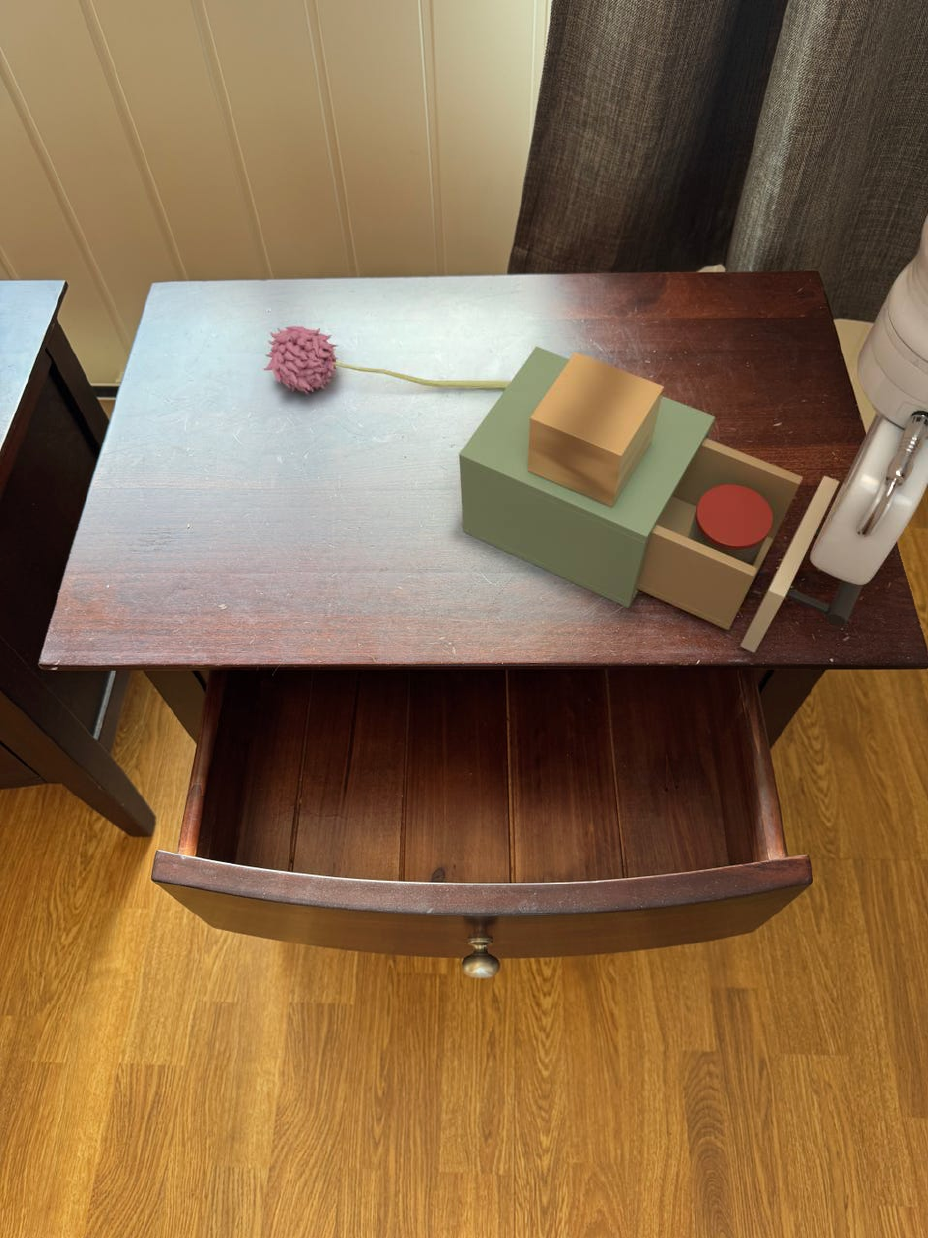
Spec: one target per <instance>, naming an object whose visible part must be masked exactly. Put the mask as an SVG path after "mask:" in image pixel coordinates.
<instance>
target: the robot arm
mask: <svg viewBox="0 0 928 1238" xmlns="http://www.w3.org/2000/svg"><path fill="white" fill-rule="evenodd" d="M902 269H903V270H902V271H900V273H899V274H898V276H897V277H896V279H895V280H894V282H893V284H892V286H891V287H890V290H889V292H888V293H887V296H886V298H885V300H884V302H883V304H882V305H881V308H880V310H879V312H878V314H877V316H876V318H875V319H874V322H873V324H872V327H871V328H870V330H869V333H868V334H867V337H866V339H865V341H864V342H863V344H862V346H861V349H860V350H859V353H858V356H857V361H856V372H857V378H858V382H859V385H860V387H861V390H862V391H863V393H864V395H865V397H866V398H867V399H868V401H869V402H870V404H871V407H872V408H873V410H874V412H875V415H874V417H873V419H872V421H871V423H870V426H869V428H868V430H867V432H866V434H865V437H864V438H863V441H862V443H861V445H860V446H859V449H858V451H857V453H856V455H855V457H854V459H853V462H852V463H851V466H850V468H849V470H848V472H847V474H846V476H845V479H844V480H843V482H842V485H841V487H840V489H839V491H838V493H837V495H836V497H835V499H834V502H833V503H832V505H831V508H830V510H829V512H828V514H827V517H826V518H825V520H824V522H823V525H822V527H821V528H820V530H821V531H820V533H819V535H818V537H817V540H816V539H815V542H814V544H813V546H812V549H811V551H810V556H809V560H810V562H811V564H812V565H813V566H814V567H815V568H817V569H818V570H820V571H822V572H824V573H826V574H828V575H830V576H831V577H834V578H835V579H836V578H837V579H839V580H841V581H842V580H844V581H847V582H849V583H852V584H857V585H863V586H864V585H866V584H868V583H870V582H871V580H872V579H873V578H874V577H875V575H876V574H877V572H878V571H879V569H880V568H881V566H882V565H883V563H884V562H885V560H886V559H887V557H888V556H889V554H890V553H891V551H892V550H893V548H894V546H895V545H896V544H897V542H898V541H899V539H900V537H901V535H902V534H903V533H904V531H905V530H906V528H907V527H908V525H909V523H910V521H911V519H912V518H913V516H914V514H915V512H916V510H917V508H918V507H919V505H920V503H921V501H922V499H923V496H924V494H925V492H926V489H927V486H928V214H927V215H926V217H925V220H924V222H923V226H922V229H921V234H920V243H919V248H918V250H917V253H916V255H915V256H914V258H913V259H912V260H911V261H910V262H909V263H908V264H907V265H906V266H905V267H904V268H902Z"/></svg>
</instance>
